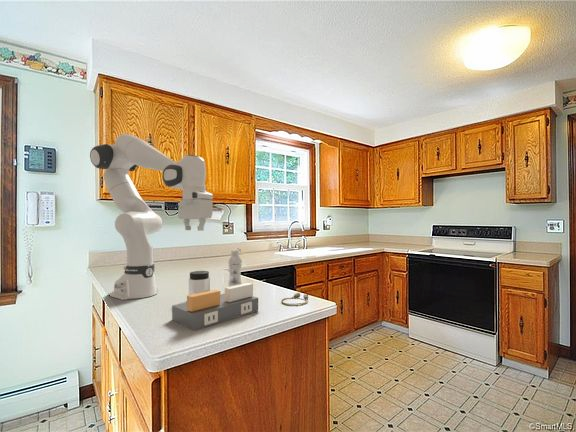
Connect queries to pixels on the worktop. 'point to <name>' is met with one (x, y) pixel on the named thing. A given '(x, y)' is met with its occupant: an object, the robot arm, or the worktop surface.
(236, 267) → the plastic bottle
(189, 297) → the orange switch
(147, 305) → the worktop surface
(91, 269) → the worktop surface
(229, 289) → the white switch
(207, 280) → the jar
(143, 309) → the worktop surface
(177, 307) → the switch box
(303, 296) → the extension cord
